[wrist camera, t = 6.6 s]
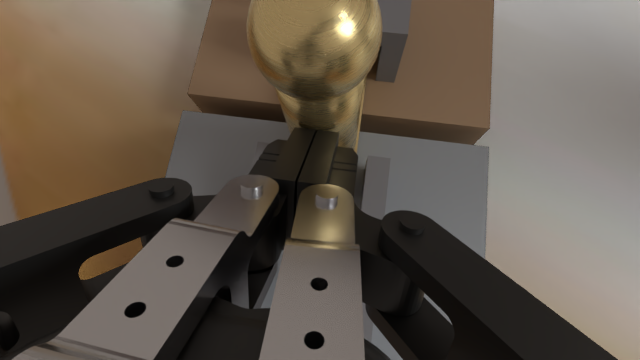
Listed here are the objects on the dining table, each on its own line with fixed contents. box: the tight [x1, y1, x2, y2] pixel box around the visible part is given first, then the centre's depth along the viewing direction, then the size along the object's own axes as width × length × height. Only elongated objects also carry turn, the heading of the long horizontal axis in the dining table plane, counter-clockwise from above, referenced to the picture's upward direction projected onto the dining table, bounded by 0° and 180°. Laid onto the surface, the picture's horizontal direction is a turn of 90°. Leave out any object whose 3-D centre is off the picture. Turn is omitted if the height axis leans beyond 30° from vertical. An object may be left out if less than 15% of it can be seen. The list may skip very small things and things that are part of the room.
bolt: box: [247, 0, 382, 154], centre depth 14 cm, size 9×3×11 cm, turn 171°
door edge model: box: [165, 0, 494, 360], centre depth 18 cm, size 25×16×7 cm, turn 172°
